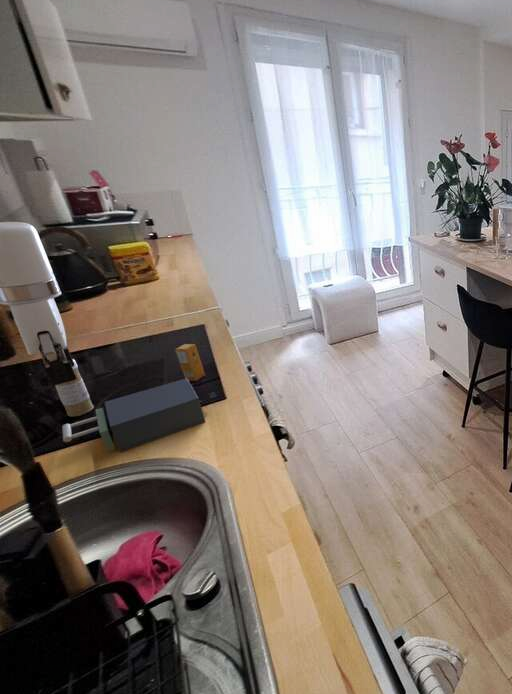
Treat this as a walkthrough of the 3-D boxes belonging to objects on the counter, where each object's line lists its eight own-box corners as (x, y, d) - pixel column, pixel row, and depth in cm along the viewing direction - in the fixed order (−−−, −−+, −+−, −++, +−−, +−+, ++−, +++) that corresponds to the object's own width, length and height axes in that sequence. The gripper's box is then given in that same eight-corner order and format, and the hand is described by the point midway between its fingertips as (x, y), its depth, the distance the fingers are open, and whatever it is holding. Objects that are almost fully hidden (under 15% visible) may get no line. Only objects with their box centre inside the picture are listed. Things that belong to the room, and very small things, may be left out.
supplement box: (193, 375, 115) (184, 343, 112) (205, 375, 115) (196, 343, 112) (184, 381, 112) (174, 348, 109) (196, 381, 112) (186, 349, 109)
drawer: (71, 464, 81) (62, 444, 80) (69, 438, 88) (61, 419, 87) (189, 422, 94) (183, 405, 93) (178, 402, 101) (173, 386, 100)
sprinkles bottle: (78, 407, 100) (57, 358, 95) (100, 405, 101) (80, 357, 96) (61, 418, 96) (39, 368, 91) (84, 417, 97) (62, 367, 92)
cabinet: (120, 452, 86) (110, 426, 84) (114, 426, 94) (104, 401, 92) (205, 421, 96) (198, 398, 94) (193, 400, 104) (186, 378, 102)
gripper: (-1, 284, 78) (36, 366, 84) (-8, 307, 67) (35, 400, 73) (57, 276, 83) (88, 354, 89) (59, 297, 72) (94, 384, 79)
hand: (63, 374), depth 81 cm, fingers open, 6 cm apart
